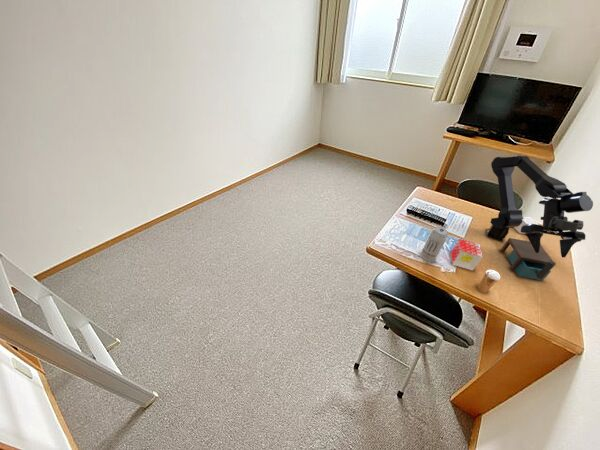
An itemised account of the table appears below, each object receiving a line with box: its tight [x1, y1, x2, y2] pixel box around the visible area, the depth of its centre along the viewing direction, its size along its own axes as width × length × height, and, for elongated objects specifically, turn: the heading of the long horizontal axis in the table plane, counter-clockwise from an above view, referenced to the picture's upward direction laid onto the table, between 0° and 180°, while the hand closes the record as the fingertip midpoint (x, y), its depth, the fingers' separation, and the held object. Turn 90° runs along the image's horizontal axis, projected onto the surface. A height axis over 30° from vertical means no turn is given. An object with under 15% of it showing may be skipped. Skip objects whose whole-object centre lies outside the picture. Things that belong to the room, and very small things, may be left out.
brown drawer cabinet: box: [499, 237, 554, 271], centre depth 114 cm, size 12×12×8 cm
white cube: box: [513, 216, 540, 235], centre depth 133 cm, size 6×6×6 cm
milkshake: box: [477, 269, 501, 293], centre depth 99 cm, size 4×5×10 cm
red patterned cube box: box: [450, 238, 484, 271], centre depth 111 cm, size 8×8×8 cm
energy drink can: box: [419, 226, 449, 263], centre depth 109 cm, size 6×6×15 cm
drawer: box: [507, 249, 557, 281], centre depth 108 cm, size 14×9×12 cm, turn 169°
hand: (550, 255), depth 101 cm, fingers open, 9 cm apart
